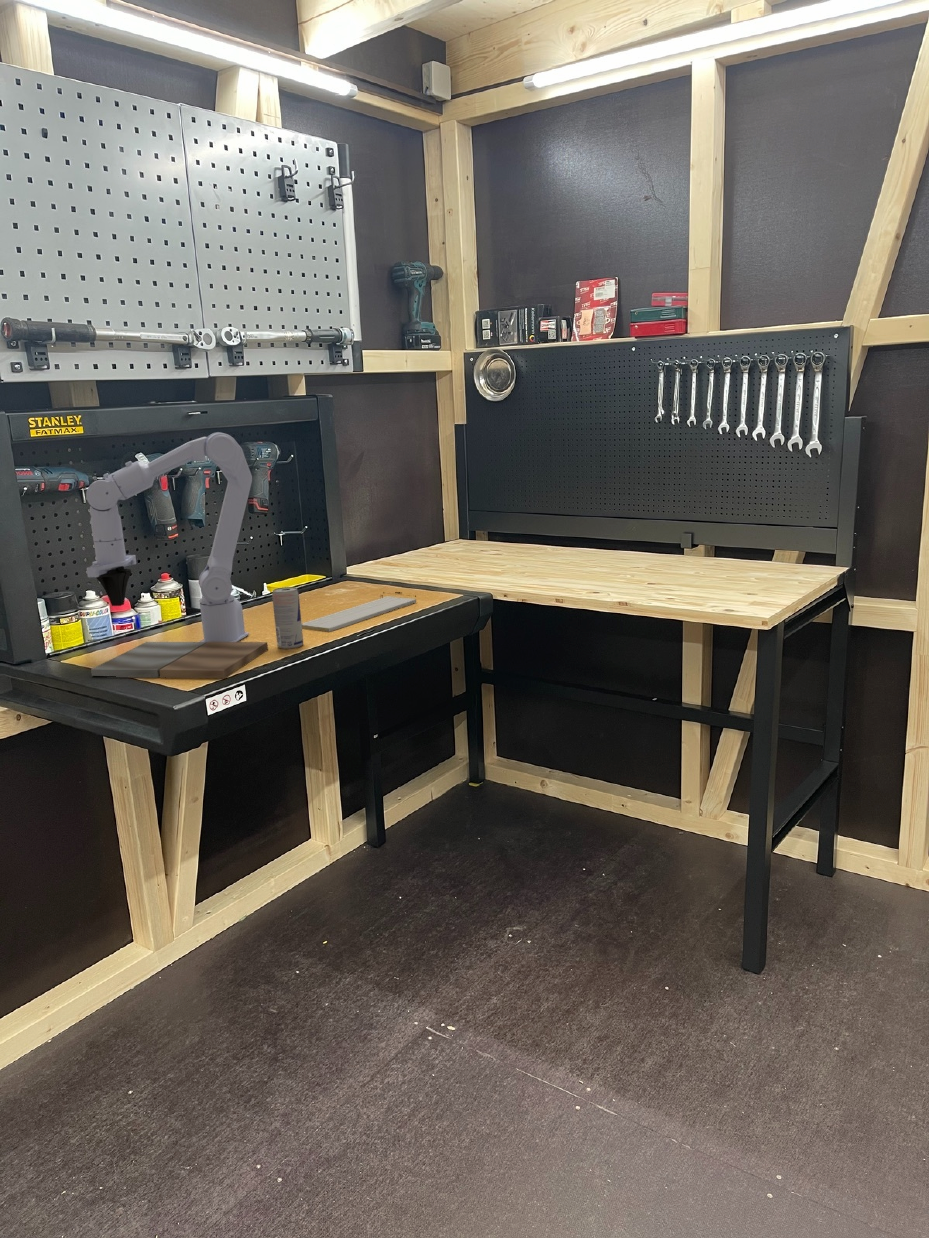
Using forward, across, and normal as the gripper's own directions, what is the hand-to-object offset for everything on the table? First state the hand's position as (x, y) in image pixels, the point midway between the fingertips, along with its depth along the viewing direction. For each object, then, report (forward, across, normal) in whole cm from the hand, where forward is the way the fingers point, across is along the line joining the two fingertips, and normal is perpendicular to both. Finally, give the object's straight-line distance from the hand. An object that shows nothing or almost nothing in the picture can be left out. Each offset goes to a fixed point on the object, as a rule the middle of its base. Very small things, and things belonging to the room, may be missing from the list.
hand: (118, 605), depth 190 cm
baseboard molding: (+11, -35, +39) cm, 54 cm away
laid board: (+10, +6, +24) cm, 27 cm away
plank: (+10, +6, +10) cm, 16 cm away
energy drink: (+11, -7, +34) cm, 36 cm away
